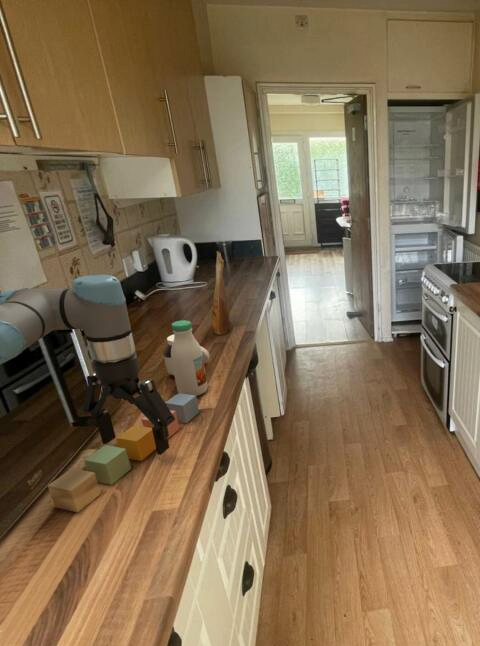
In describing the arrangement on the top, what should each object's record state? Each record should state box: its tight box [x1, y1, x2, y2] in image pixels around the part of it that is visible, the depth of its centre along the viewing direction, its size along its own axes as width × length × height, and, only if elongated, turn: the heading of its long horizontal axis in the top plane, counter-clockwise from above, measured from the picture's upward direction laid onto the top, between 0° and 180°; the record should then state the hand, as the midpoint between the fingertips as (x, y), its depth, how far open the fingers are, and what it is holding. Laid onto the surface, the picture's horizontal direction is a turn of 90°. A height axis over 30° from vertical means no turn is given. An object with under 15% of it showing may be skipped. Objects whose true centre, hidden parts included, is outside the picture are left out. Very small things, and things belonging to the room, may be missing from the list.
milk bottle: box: [171, 319, 209, 397], centre depth 114 cm, size 8×8×20 cm
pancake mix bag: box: [212, 250, 230, 336], centre depth 158 cm, size 7×19×28 cm, turn 16°
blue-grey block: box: [164, 392, 200, 424], centre depth 105 cm, size 5×5×5 cm
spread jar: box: [163, 334, 211, 378], centre depth 127 cm, size 12×11×12 cm
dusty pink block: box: [141, 410, 180, 439], centre depth 98 cm, size 5×5×5 cm
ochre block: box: [115, 424, 156, 462], centre depth 92 cm, size 5×5×5 cm
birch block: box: [47, 467, 102, 513], centre depth 78 cm, size 5×5×5 cm
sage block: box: [83, 444, 132, 486], centre depth 85 cm, size 5×5×5 cm
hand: (136, 445), depth 92 cm, fingers open, 13 cm apart
